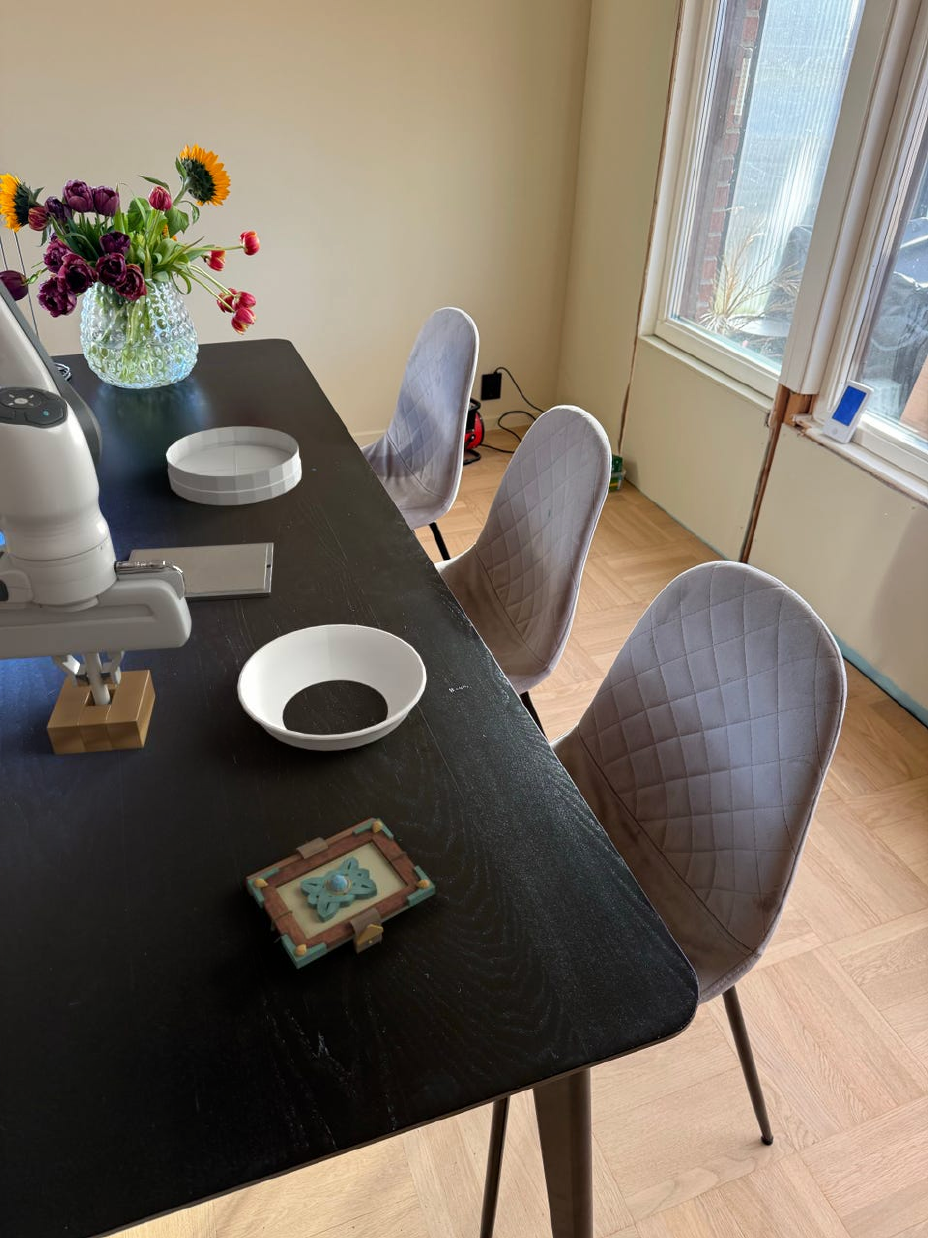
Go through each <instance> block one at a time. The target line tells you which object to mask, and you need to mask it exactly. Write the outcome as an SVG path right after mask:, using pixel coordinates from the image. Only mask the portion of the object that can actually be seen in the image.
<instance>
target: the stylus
mask: <svg viewBox="0 0 928 1238" xmlns="http://www.w3.org/2000/svg"><path fill="white" fill-rule="evenodd" d="M81 658H82V660H83V664H85V668H86V672H87V675H88V679H89V683H90V686H91V690H92V694H93V697H94V701H95V704H96V706H100V705H111V700H110V696H109V692H108V688H107V685H103V679H102V678H101V675H100V672H101V669H103V668H102V666H103V664H102V662H101V658H100V653H91V654H81Z"/></svg>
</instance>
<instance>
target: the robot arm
mask: <svg viewBox="0 0 928 1238" xmlns="http://www.w3.org/2000/svg"><path fill="white" fill-rule="evenodd" d="M102 451H103V434H102V430H101V426H100V423H99V421H98V418H97V417H96V416H95V414H94V412H93V411H92V409H91V407H89V405H88V404H87V403H86V402H85V401H84V399H83V398H82V396H80V395H79V393H78V392H77V391H76V390H75V388H73V387H72V385H71V384H70V383H69V382H68V380H67V379H66V378H65V377H64V375H63V374H62V372H61V371H60V370H59V368H58V367H57V365H56V364H55V362H54V360H53V359H52V357H51V356H50V354H49V352H48V351H47V349H46V348H45V346H44V345H43V343H42V341H41V340H40V339H39V336H38V335H37V334H36V332H35V330H34V329H33V327H32V326H31V324H30V323H29V321H28V319H27V318H26V316H25V315H24V313H23V311H22V310H21V308H20V307H19V305H18V304H17V302H16V301H15V299H14V297H13V295H12V294H11V293H10V291H9V289H8V288H7V287H6V285H5V284H4V282H3V280H2V279H1V278H0V533H1V534H2V536H3V538H4V543H5V544H1V545H0V661H4V660H19V659H33V658H34V659H35V658H46V657H51V659H52V663H53V664H54V665H55V666H56V667H57V668H58V669H60V671H62V672H63V673H65V675H66V676H70V679H71V682H72V685H73V687H87V686H89V685H90V683H89V679H88V675H87V672H86V668H85V664H84V663H82V664H80V662H79V661H78V660H76V658H75V657H74V656H76V655H82V654H91V653H98V654H103V653H106V657H107V659H108V660H111V661H110V662H103V664H102V669H101V672H100V675H101V678H102V679H103V685H113V684H119V682H120V679H121V672H122V671H121V667H120V665H121V663H122V661H123V658H124V655H125V653H126V652H131V651H145V650H146V651H147V650H159V649H160V650H161V649H175V648H181V647H183V646H184V645H185V644H186V643H187V641H188V640H189V638H190V636H191V632H192V618H191V614H190V610H189V606H188V602H186V600H185V597H184V595H185V592H186V585H185V580H184V575H183V573H182V571H181V570H180V569H179V568H178V567H176V566H174V565H172V564H169V563H166V562H165V560H150V561H146V562H145V561H143V562H142V561H129V560H124V561H123V560H122V561H121V560H120V561H117V557H116V553H115V548H114V545H113V540H112V536H111V532H110V527H109V525H108V522H107V520H106V519H105V517H104V515H103V513H102V512H101V509H100V505H99V495H100V486H99V480H98V476H97V472H96V471H97V469H98V468H99V464H100V460H101V457H102ZM166 567H167V569H166Z"/></svg>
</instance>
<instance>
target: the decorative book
mask: <svg viewBox="0 0 928 1238" xmlns="http://www.w3.org/2000/svg"><path fill="white" fill-rule="evenodd" d="M294 853H295V854H293V855H291V856H289V857H287V858H285V859H282V860H280V861H277V862H276V863H274V864H272V865H269V866H268V867H266V868H264V869H262V870H259V871H257V872H254V873H253V874H251V875H249V876H247V877H245V886H246V889H247V892H248V894H249V895H250V897H253V898H254V900H255V901H256V903H257V904H258V906H259V907H260V909H261V910H262V909H263V908H264V911H265V912H266V914H267V915H268V917H269V919H270V920H271V924H270V931H273V932H275V930H277V932H278V933H279V937H278V938H276V940H274V942H273V944H274V943H275V944H276V943H278V942H279V941H281V944H282V946H283V948H284V949H285V951H286V952H287V955H288V956H289V958H290V959H291V961H292V963H293V964H294V966H295V967H296V969H297V970H299V969H301V968H302V967H304V966H306V965H308V964H310V963H312V962H313V961H315V960H317V959H319V958H321V957H322V956H324V955H326V954H327V953H329V952H331V951H333V950H335V949H336V948H338V947H340V946H342V945H344V944H346V943H347V942H350V941H351V940H352V941H353V947H354V951H355V952H356V954H359V953H360V952H363V951H364V950H366V949H367V948H369V947H371V946H373V945H375V944H376V943H378V942H380V941H382V940H383V935H382V934H383V932H384V927H382V924H383V922H386V921H387V920H389V919H391V918H393V917H395V916H396V915H398V914H400V913H402V912H403V911H406V910H408V909H410V908H411V907H413V906H415V905H417V904H419V903H420V902H423V901H425V900H426V899H428V898H430V897H431V896H434V895H435V894H436V885H435V884H434V883H433V882H432V881H431V879H430V878H429V877H428V876H427V874H426V873H425V872H424V871H423V870H422V868H421V867H420V866H419V865H416V866H415V865H414V863H413V862H412V861H411V859H410V858H409V857H408V855H407V852H406V851H403V850H402V849H401V847H400V846H399V845H398V844H397V842H396V841H395V840H394V834H393V833H392V832H391V830H390V829H389V828H388V827H387V826H386V825H385V824H384V823H383V821H382V820H381V819H380V817H378V818H374V817H371V818H369V819H366V820H364V821H361V822H360V823H358V824H356V825H354V826H351V827H349V828H348V829H345V830H344V831H341V832H339V833H337V834H335V835H333V836H331V837H328V838H327V839H323V838H322V837H317V838H315V839H313V840H311V841H309V842H306V843H305V844H302V845H300V846H297V847H296V848H295V849H294Z"/></svg>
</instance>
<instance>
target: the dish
mask: <svg viewBox="0 0 928 1238" xmlns="http://www.w3.org/2000/svg"><path fill="white" fill-rule="evenodd" d="M299 449H300V448H299V444H298V442H297V440H296V439H295V438H294V437H292V436H291V435H290V434H287V433H285V432H284V431H283V432H282V431H280V430H277V429H273V428H267V427H261V426H251V425H249V426H247V425H246V426H242V425H241V426H227V427H225V426H224V427H215V428H211V429H207V430H201V431H198V432H194V433H192V434H188V435H186V436H184V437H182V438H180V439H179V440H176V441H175V442H174V443H173V444H172V445H170V446H169V447H168V449H167V451H166V452H165V456H166V462H167V465H168V467H167V473H168V480H169V483H170V487H171V488H170V489H171V491H173V492H174V493H175V494H176V495H177V496H178V497H181V498H183V499H185V500H187V501H189V502H195V503H199V504H203V505H214V506H239V505H240V506H241V505H247V504H254V503H259V502H263V501H267V500H271V499H274V498H276V497H280V496H282V495H283V494H286V493H288V492H289V491H290V490H292V489H293V488H295V487H296V486H297V485H298V484H299V482H300V481H301V479H302V473H303V472H302V471H303V470H302V460H301V458H300V452H299V451H300V450H299Z"/></svg>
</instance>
